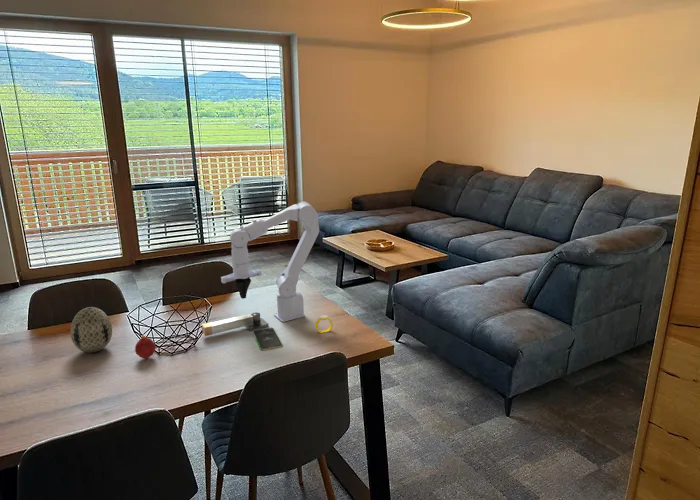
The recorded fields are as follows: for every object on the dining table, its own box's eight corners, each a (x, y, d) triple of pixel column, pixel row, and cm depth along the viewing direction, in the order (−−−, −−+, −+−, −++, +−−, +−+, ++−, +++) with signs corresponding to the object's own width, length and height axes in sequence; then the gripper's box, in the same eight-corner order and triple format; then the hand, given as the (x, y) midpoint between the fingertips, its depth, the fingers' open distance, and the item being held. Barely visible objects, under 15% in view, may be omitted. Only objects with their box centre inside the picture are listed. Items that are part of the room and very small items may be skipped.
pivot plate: (262, 320, 175) (261, 318, 174) (268, 326, 170) (268, 323, 170) (244, 325, 171) (243, 322, 171) (250, 331, 166) (250, 328, 166)
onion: (160, 355, 150) (157, 332, 147) (147, 364, 144) (144, 341, 142) (145, 352, 151) (142, 330, 149) (132, 361, 146) (129, 338, 144)
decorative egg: (96, 339, 160) (89, 299, 156) (123, 345, 157) (116, 303, 152) (65, 356, 150) (57, 312, 145) (94, 362, 146) (86, 317, 142)
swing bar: (261, 322, 169) (261, 314, 169) (205, 336, 159) (204, 327, 159) (258, 319, 172) (258, 311, 171) (202, 332, 162) (201, 324, 161)
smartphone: (260, 349, 152) (251, 330, 165) (260, 352, 152) (252, 333, 166) (283, 345, 155) (273, 326, 168) (283, 347, 155) (273, 329, 168)
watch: (317, 335, 163) (316, 320, 161) (315, 332, 166) (313, 317, 164) (334, 331, 165) (332, 316, 164) (331, 328, 168) (329, 313, 166)
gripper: (224, 268, 161) (227, 305, 164) (264, 261, 168) (266, 296, 172) (217, 263, 166) (221, 299, 170) (256, 256, 174) (258, 290, 178)
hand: (243, 297), depth 171 cm, fingers closed
